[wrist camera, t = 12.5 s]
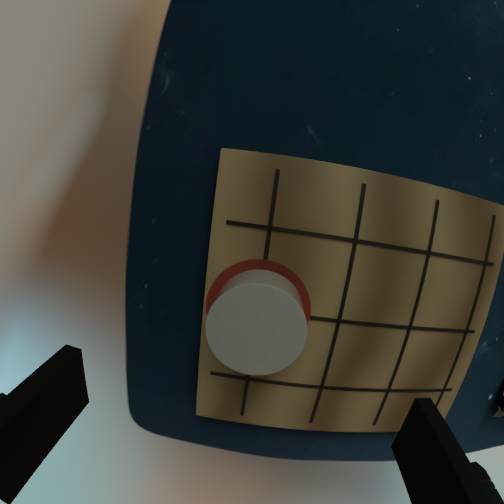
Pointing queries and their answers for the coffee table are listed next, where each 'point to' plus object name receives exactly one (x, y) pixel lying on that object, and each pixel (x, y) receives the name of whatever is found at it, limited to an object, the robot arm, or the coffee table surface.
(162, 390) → the coffee table surface
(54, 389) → the robot arm
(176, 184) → the coffee table surface
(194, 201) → the coffee table surface
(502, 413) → the stone
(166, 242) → the coffee table surface
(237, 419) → the board
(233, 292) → the gray cylinder
